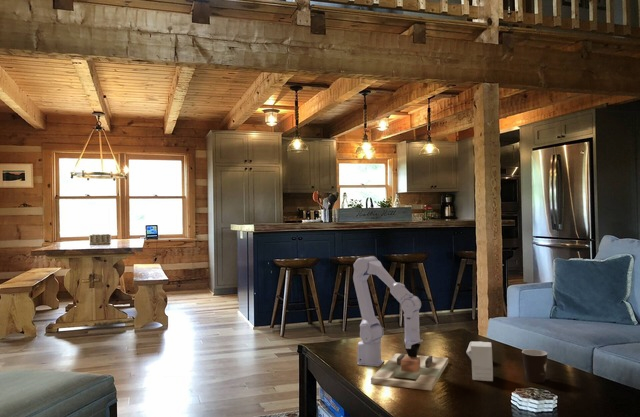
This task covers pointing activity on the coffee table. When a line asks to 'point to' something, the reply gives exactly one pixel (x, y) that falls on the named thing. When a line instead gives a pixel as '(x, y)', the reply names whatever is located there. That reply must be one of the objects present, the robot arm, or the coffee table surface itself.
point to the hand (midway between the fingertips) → (412, 362)
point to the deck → (425, 375)
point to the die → (470, 350)
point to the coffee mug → (535, 365)
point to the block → (410, 364)
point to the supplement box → (482, 361)
